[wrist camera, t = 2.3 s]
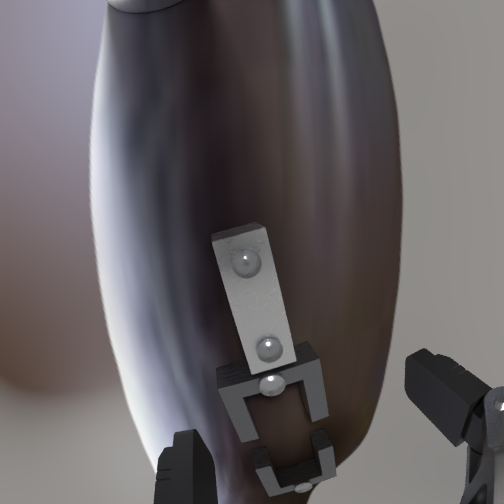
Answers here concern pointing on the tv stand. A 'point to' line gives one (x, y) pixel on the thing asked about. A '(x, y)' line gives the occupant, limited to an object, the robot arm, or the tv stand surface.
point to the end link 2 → (297, 468)
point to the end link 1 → (271, 388)
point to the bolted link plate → (254, 295)
